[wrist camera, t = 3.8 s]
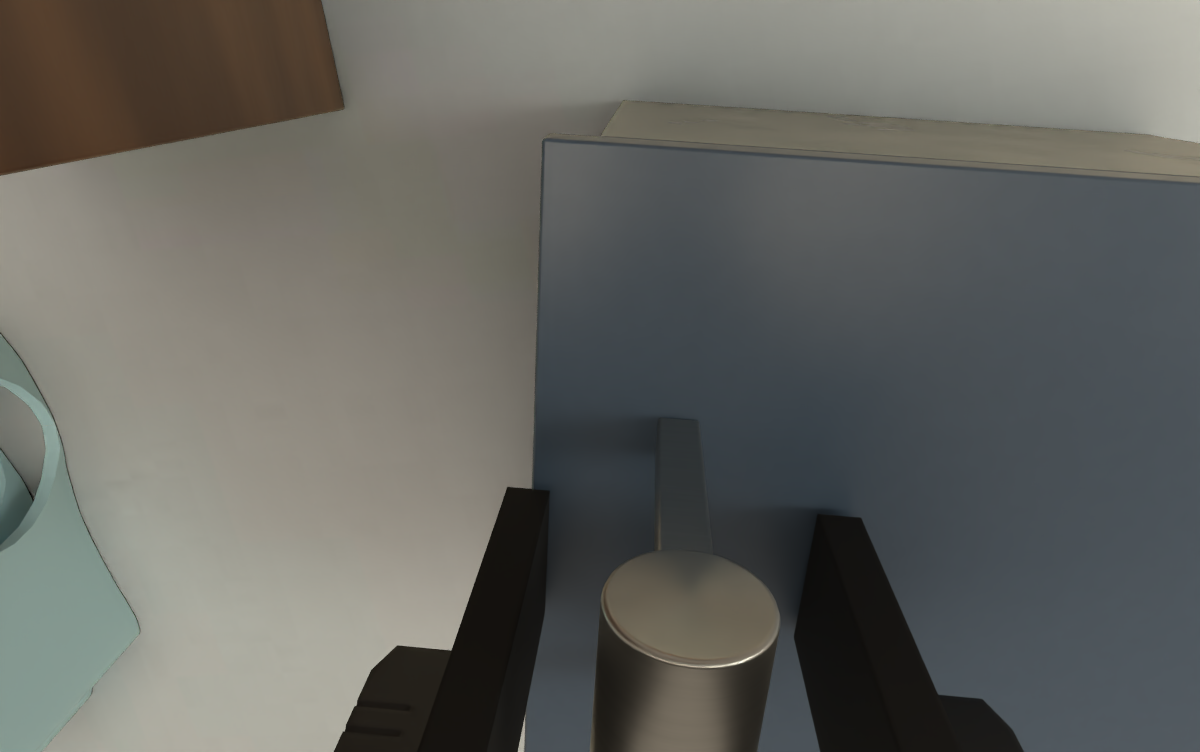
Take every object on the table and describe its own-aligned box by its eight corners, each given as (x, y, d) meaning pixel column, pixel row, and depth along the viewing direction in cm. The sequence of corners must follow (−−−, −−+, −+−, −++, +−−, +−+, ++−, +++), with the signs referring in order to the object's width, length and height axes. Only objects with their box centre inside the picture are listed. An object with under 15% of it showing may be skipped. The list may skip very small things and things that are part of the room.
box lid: (527, 788, 18) (458, 1176, 12) (548, 132, 13) (437, 215, 6) (1189, 857, 18) (1481, 1303, 11) (1523, 199, 12) (2477, 363, 6)
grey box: (593, 545, 27) (561, 792, 18) (622, 99, 22) (598, 136, 13) (1008, 582, 27) (1187, 855, 18) (1149, 134, 21) (1519, 198, 12)
